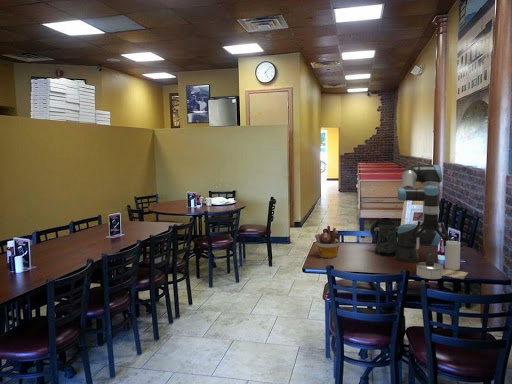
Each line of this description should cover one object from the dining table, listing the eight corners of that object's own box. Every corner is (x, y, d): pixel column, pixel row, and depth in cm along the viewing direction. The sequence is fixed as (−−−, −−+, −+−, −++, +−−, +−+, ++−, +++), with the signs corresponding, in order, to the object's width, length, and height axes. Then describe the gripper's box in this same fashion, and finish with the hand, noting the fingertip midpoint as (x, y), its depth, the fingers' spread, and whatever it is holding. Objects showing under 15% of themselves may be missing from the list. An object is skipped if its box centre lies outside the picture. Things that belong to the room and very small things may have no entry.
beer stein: (401, 257, 275) (402, 220, 272) (372, 256, 278) (372, 220, 275) (397, 251, 291) (397, 216, 289) (369, 250, 294) (369, 216, 292)
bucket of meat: (338, 260, 269) (338, 230, 267) (313, 259, 274) (313, 230, 272) (341, 253, 288) (341, 225, 286) (318, 252, 293) (317, 224, 291)
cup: (455, 266, 251) (455, 240, 249) (462, 269, 243) (463, 243, 241) (442, 266, 251) (442, 241, 249) (448, 270, 243) (449, 244, 241)
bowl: (414, 276, 232) (414, 267, 232) (421, 270, 242) (421, 262, 242) (438, 280, 224) (438, 271, 224) (444, 274, 234) (444, 266, 234)
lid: (413, 267, 231) (413, 254, 231) (420, 262, 242) (420, 249, 242) (439, 272, 223) (439, 257, 222) (445, 266, 234) (446, 252, 233)
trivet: (436, 275, 234) (436, 274, 234) (442, 269, 245) (442, 268, 244) (463, 279, 225) (463, 278, 225) (468, 273, 236) (468, 272, 236)
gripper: (406, 212, 234) (405, 248, 236) (453, 215, 219) (452, 254, 221) (410, 211, 240) (409, 246, 242) (456, 214, 225) (455, 251, 227)
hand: (430, 250), depth 231 cm, fingers open, 13 cm apart
